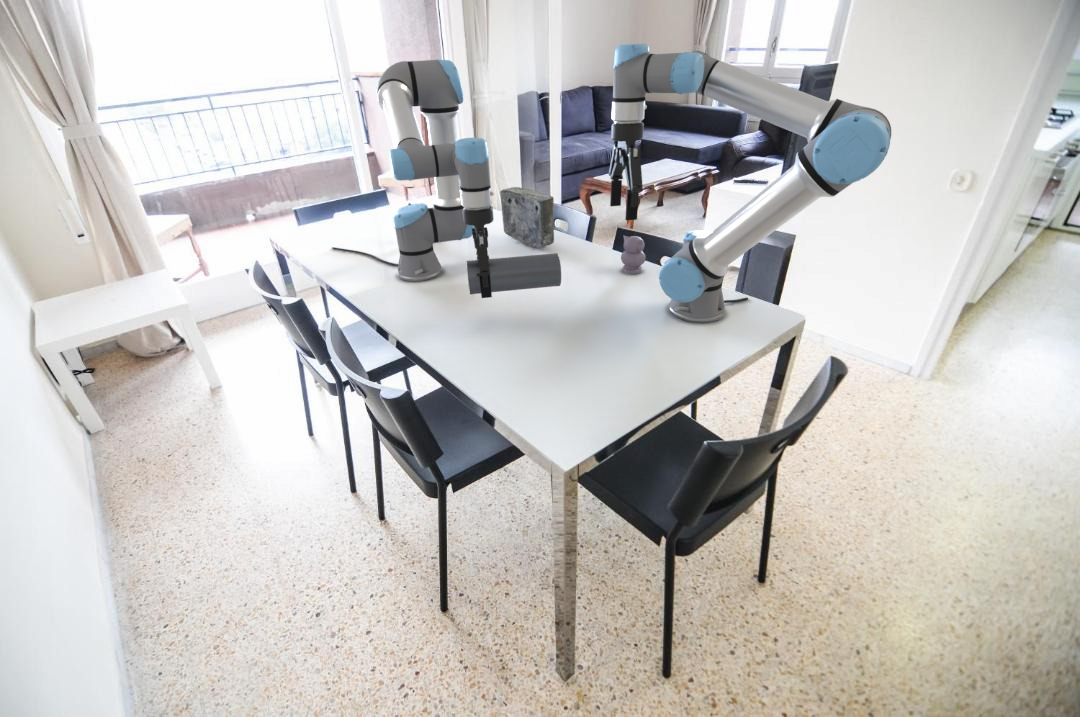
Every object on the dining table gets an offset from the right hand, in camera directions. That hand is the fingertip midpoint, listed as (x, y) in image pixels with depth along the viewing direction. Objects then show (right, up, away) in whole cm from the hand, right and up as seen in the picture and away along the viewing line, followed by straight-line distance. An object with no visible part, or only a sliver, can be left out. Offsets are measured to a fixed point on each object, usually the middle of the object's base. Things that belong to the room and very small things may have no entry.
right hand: (622, 212), depth 128 cm
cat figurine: (+11, -7, +44) cm, 46 cm away
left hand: (-36, -19, +7) cm, 42 cm away
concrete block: (-25, +8, +72) cm, 77 cm away
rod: (-28, -18, +9) cm, 35 cm away
